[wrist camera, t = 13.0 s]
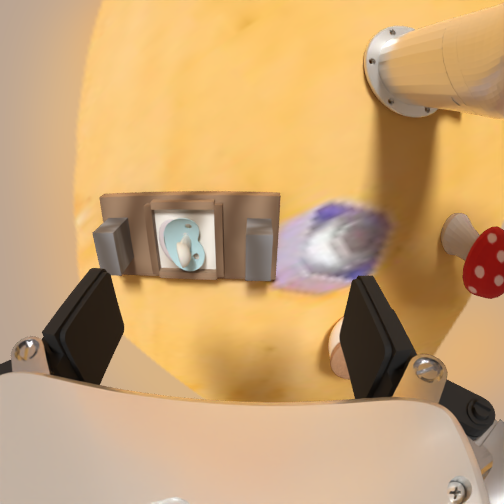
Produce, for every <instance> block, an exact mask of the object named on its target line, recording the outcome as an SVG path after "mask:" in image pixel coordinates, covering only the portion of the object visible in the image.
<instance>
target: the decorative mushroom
mask: <svg viewBox="0 0 504 504" xmlns="http://www.w3.org/2000/svg"><path fill="white" fill-rule="evenodd" d="M441 242H442V245H443V247H444V250H445V251H446V253H448V254H450V255H456V256H458V257H460V258H462V259H463V260H465V264H464V268H463V281H464V285H465V287H466V288H467V290H468V291H469V292H470V293H472V294H474V295H477V296H480V297H484V298H490V299H492V298H495V297H498V296H500V295H502V294H503V293H504V230H503V229H501V228H499V227H491V228H489V229H487V230H485V231H484V232H483V233H482V234H481V235H479V234H478V232H477V231H476V230H475V229H474V227H473V226H472V225H471V222H470V220H469V218H468V217H467V215H465V214H462V213H454V214H453V215H451V216H450V217H449V218H448V219H447V220H446V222H445V224H444V226H443V228H442V232H441Z"/></svg>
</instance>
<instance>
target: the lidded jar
mask: <svg viewBox="0 0 504 504" xmlns="http://www.w3.org/2000/svg"><path fill="white" fill-rule="evenodd" d="M343 318H344V316H343V317H342V318H341V319H340V320H339V321H338V322H337V324H336V325H335V326H334V328H333V329H332V332H331V334H330V338H329V356H330V364H331V368H332V370H333V372H334V373H335V374H336V375H337V376H339V377H341V378H344V379H350V377H349V373H348V369H347V365H346V362H345V358H344V355H343V351H342V348H341V344H340V340H339V334H340V329H341V326H342V322H343Z"/></svg>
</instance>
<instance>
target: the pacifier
mask: <svg viewBox="0 0 504 504" xmlns="http://www.w3.org/2000/svg"><path fill="white" fill-rule="evenodd" d="M185 224H190V225H191V226H192V227H191V228H189V227H186V226H185ZM198 237H199V228H198V225H197V224H196V223H195V222H194V221H193V220H190V219H187V218H178V219H174V220H173V219H168V220H166V221H164V222H163V223H162V224H161V226H160V229H159V242H160V246H161V248H162V250H163V252H164V253H165V255H166V256H167V257H168V258H169V259H170V260H171V261H173V262H174V263H175V264H176V265H177V266H178V267H179V268H181V269H183V270H186V271H195V270H197V269H199V268H200V267H201V266H202V264H203V262H204V259H205V252H204V249H203V246H202V245H201V243H200V242H199V241H198ZM195 253H197V254H198V255H199V259H195V258H194V256H193V255H194V254H195Z"/></svg>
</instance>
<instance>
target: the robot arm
mask: <svg viewBox="0 0 504 504" xmlns="http://www.w3.org/2000/svg"><path fill="white" fill-rule="evenodd" d="M390 33H391V34H390ZM369 60H370V61H371V64H370V63H369ZM364 70H365V75H366V78H367V81H368V83H369V85H370V88H371V90H372V91H373V93H374V94H375V95H376V97H377V98H378V99H379V100H380V101H381V102H382V103H383V105H385V106H386V107H387V108H389V109H390V110H392V111H394V112H395V113H397V114H400V115H403V116H407V117H425V116H428V115H430V114H432V113H434V112H435V111H437V110H438V109H445V110H452V111H458V112H464V113H470V114H475V115H481V116H485V117H490V118H495V119H504V3H501V4H499V5H496V6H493V7H490V8H486V9H483V10H479V11H476V12H473V13H469V14H465V15H462V16H458V17H455V18H451V19H447V20H444V21H441V22H438V23H435V24H432V25H428V26H426V27H423V28H420V29H417V30H415V29H413V28H410V27H406V26H392V27H388V28H385V29H383V30H381V31H380V32H378V33H377V34H375V35H374V36H373V37H372V39H371V40H370V41H369V43H368V45H367V47H366V50H365V54H364ZM388 99H389V100H390V103H388ZM123 332H124V323H123V320H122V316H121V313H120V309H119V306H118V302H117V298H116V295H115V291H114V287H113V283H112V279H111V275H110V273H108V272H107V271H106V269H101V268H91V269H90V270H89V271H88V273H87V274H86V275H85V276H84V278H83V279H82V280H81V281H80V283H79V284H78V285H77V286H76V288H75V289H74V290H73V291H72V293H71V294H70V295H69V297H68V298H67V299H66V301H65V302H64V303H63V304H62V306H61V307H60V308H59V310H58V311H57V312H56V314H55V315H54V316H53V318H52V319H51V320H50V322H49V323H48V325H47V326H46V327H45V329H44V330H43V332H42V333H43V336H44V337H43V338H42V340H41V339H39V338H38V337H33V336H30V337H25V338H23V339H21V340H20V341H19V342H17V343H16V344H15V346H14V347H13V349H12V352H11V360H9V361H7V362H5V363H2V364H0V504H504V422H503V421H502V420H499V421H498V422H497V421H496V420H495V411H494V408H493V406H492V405H491V404H490V402H489V401H487V400H486V399H484V398H483V397H481V396H479V395H477V394H474V393H472V392H471V391H469V390H467V389H465V388H463V387H461V386H459V385H457V384H455V383H452V382H451V381H449V380H447V369H446V367H445V365H444V364H443V362H442V361H441V360H439V359H438V358H436V357H434V356H432V355H429V354H420V355H417V354H416V352H415V350H414V348H413V346H412V344H411V342H410V340H409V338H408V336H407V334H406V332H405V330H404V328H403V326H402V324H401V322H400V321H399V319H398V317H397V315H396V313H395V311H394V310H393V309H391V307H390V305H389V303H388V302H387V300H386V298H385V296H384V294H383V293H382V291H381V289H380V287H379V285H378V284H377V282H376V280H375V278H374V277H373V276H358V277H357V279H354V280H353V281H352V283H351V288H350V292H349V297H348V301H347V305H346V310H345V314H344V318H343V322H342V326H341V329H340V334H339V340H340V344H341V348H342V351H343V355H344V358H345V362H346V365H347V369H348V373H349V377H350V380H351V384H352V388H353V392H354V396H355V399H349V400H333V401H310V402H239V401H219V400H204V399H192V398H181V397H172V396H164V395H156V394H149V393H142V392H135V391H129V390H123V389H117V388H112V387H106V386H101V385H100V383H101V381H102V378H103V376H104V374H105V371H106V369H107V367H108V365H109V363H110V360H111V358H112V356H113V354H114V352H115V349H116V347H117V345H118V343H119V341H120V339H121V337H122V335H123Z"/></svg>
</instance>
